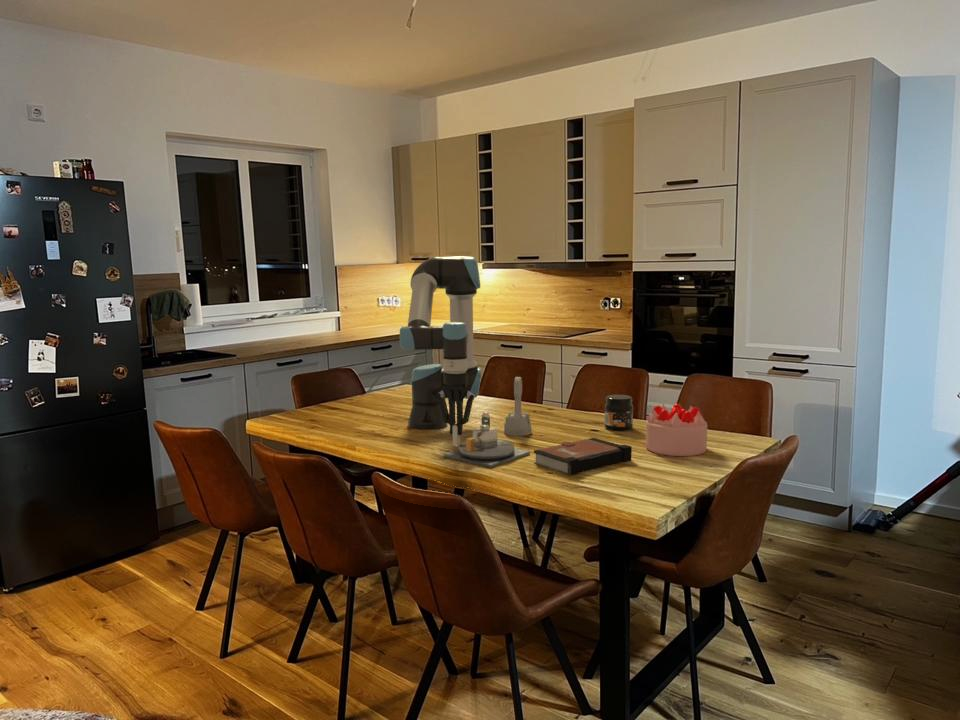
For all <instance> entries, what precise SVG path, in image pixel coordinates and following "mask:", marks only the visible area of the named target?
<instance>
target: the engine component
mask: <svg viewBox="0 0 960 720" xmlns="http://www.w3.org/2000/svg"><path fill="white" fill-rule="evenodd" d="M514 377H515V378H514V381H513V395H514V412H509V413H508V416H507V417H505V423H504V424H503V426H504V427H503V429H504V430H503V432H504V434H505V435H508V436H528V435H530V434H532V422H531V419H530V418H531V417H530V415H531V414H529V413H527V412H522V394H523V380H522V379H523V378H522V377H521V376H514Z"/></svg>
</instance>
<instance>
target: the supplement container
mask: <svg viewBox="0 0 960 720" xmlns="http://www.w3.org/2000/svg"><path fill="white" fill-rule="evenodd" d="M632 397H633V396H631V395H628V394H627V395H626V394H609V395H607V396H606V397H605V402H606V403H605V405H604V427H605V429H607V430H608V431H609V430H610V431H614V432H625V431H630V430H631V429H632V428H633V427H634V424H633V422H634V420H633V416H634V415H633V414H634V406H633V405H634V404H632V403H633V398H632Z"/></svg>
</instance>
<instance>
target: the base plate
mask: <svg viewBox="0 0 960 720" xmlns="http://www.w3.org/2000/svg"><path fill="white" fill-rule="evenodd" d="M530 454H531V451H530V450H525V449H520V448H516V447H514V454H513V455H511V456H508V457H505V458H499V459H473V458H468V457H464V456H462V455H461V454H460V453H459V448H458V449H455V450H452V451H449V452H446V453H443V458H445V459H450V460H453V461H454V460H455V461H457V462H464V463H468V464H472V465H477V466H480V465H481V467H484V466H485V467H484V468H488V467H489V469H491V468H492V469H493V468H494V467H498V466H500V464H501V465H503V464H507V463H509V462H512V461H514V460H515V461H516V460H518V459H521V458H525V457H527V456H529V455H530ZM506 462H507V463H506Z"/></svg>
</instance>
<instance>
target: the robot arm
mask: <svg viewBox="0 0 960 720" xmlns="http://www.w3.org/2000/svg"><path fill="white" fill-rule="evenodd" d="M479 271H480V270H479V266H478V261H477V258H475V257H473V256H464V255H462V256H461V255H459V256H434V257H431V258H428V259H426V260H423V262H421V263H420V264H419V265H418V266H417V267H416V268H415V269H414V271H413V273H412V274H411V278H410V282H409V283H410V288H411V291H412V292H411V298H410V305H409V312H408V319H407V325H406V326H401V328H399V334H398V335H399V336H398V337H399V346H400V348H401V349H402V350H412V351H416V350H418V351H419V350H421V351H422V350H442V351H443V352H442V353H443V355H442V356H443V357H442V359H443V360H442V361H443V363H442V364H443V366H442V364H441V363H433V364H424V365H421V366H417V367H414V368H413V370H412V371H411V380H410V382H411V409H410V414H409V418H408V420H407V425H408V427H409V428H411V429H417V430H435V429H441V428H445V427H446V426H448V425H449V434H450V435H451V436H452V446H453V447H454V446H455V447H459V445H460V444H461V436H462V435H463V429H464V428H463V425H465V424H468V423H469V419H470V415H471V411H472V407H473V402H474V400H475V398H477V397H478V396H479V394H480V387H481V386H480V385H481V378H482V368H481V367H478V365H479V364H478V362H477V360H475V359H474V356H475V355H474V351H475V350H474V305H473V304H474V301H473V300H474V297H475V296H476V295H477V292H478V291H477V290H479V289H481V279H480V273H479ZM437 289H438V290H439V289H440V290H441V289H443V290H445V293H444V294H445V295H446V296H447V297H448V298H449V322H445V323H443V325H442V326H441V325H439V326H436V325H435V326H431V321H432V314H433V312H432V311H433V303H434V301H433V299H434V293H435V292H436V291H437ZM446 399H447V401H446ZM464 399H465V400H466V404H465V407H464V406H463V405H464ZM447 402H448V404H447Z"/></svg>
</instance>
